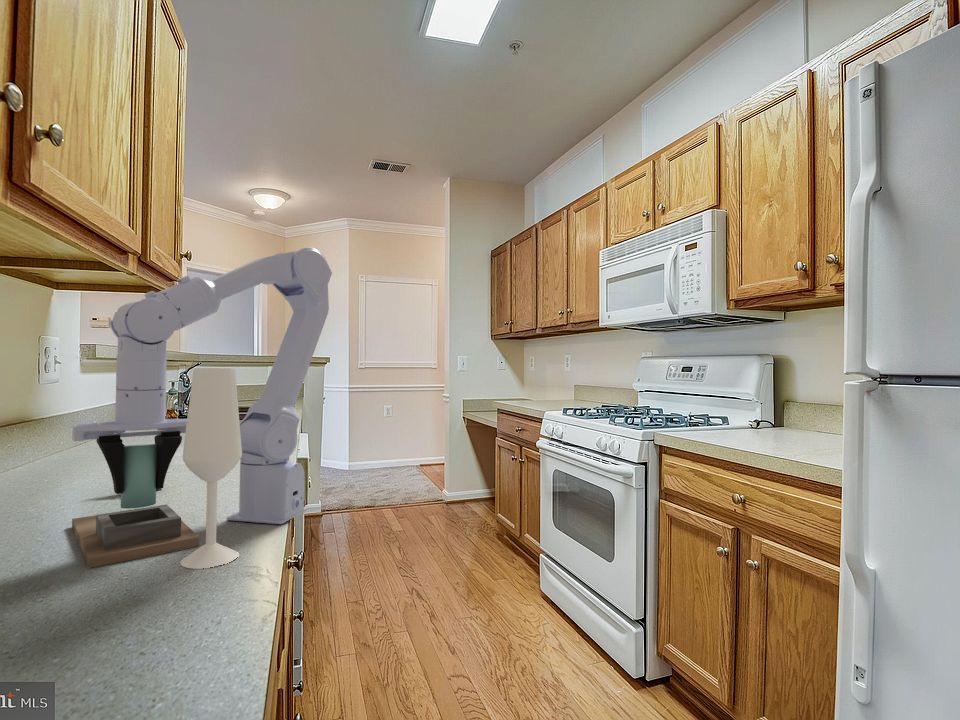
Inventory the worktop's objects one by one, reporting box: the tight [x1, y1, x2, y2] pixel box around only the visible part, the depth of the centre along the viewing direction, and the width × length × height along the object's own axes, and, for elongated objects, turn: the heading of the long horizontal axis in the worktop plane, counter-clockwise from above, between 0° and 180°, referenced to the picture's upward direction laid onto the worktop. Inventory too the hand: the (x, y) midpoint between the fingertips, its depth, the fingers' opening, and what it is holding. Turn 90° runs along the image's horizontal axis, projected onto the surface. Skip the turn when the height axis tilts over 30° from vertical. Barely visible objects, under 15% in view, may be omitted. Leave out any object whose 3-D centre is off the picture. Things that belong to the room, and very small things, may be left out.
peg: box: [120, 443, 157, 510], centre depth 72 cm, size 4×4×8 cm
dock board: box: [71, 504, 200, 569], centre depth 74 cm, size 20×12×4 cm, turn 42°
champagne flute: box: [180, 367, 242, 570], centre depth 67 cm, size 7×7×24 cm
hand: (139, 489), depth 71 cm, fingers closed on peg, 4 cm apart
